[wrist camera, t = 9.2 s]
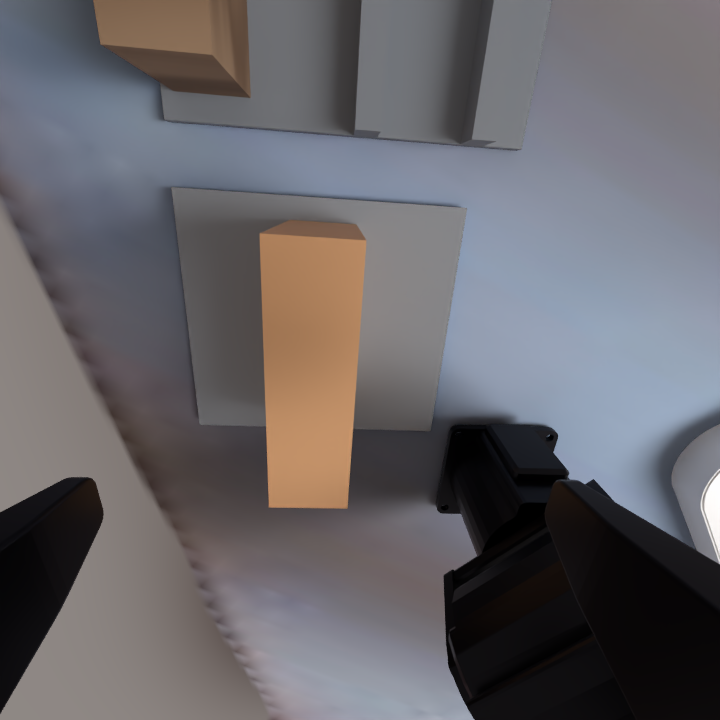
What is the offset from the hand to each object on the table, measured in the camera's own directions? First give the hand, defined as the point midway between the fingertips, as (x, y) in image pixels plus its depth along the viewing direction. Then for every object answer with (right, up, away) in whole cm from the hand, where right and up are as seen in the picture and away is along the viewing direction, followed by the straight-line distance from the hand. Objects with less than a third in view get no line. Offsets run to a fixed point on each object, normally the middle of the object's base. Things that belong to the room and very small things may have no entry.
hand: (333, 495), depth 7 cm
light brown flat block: (-1, +4, +12) cm, 12 cm away
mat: (-1, +5, +12) cm, 13 cm away
